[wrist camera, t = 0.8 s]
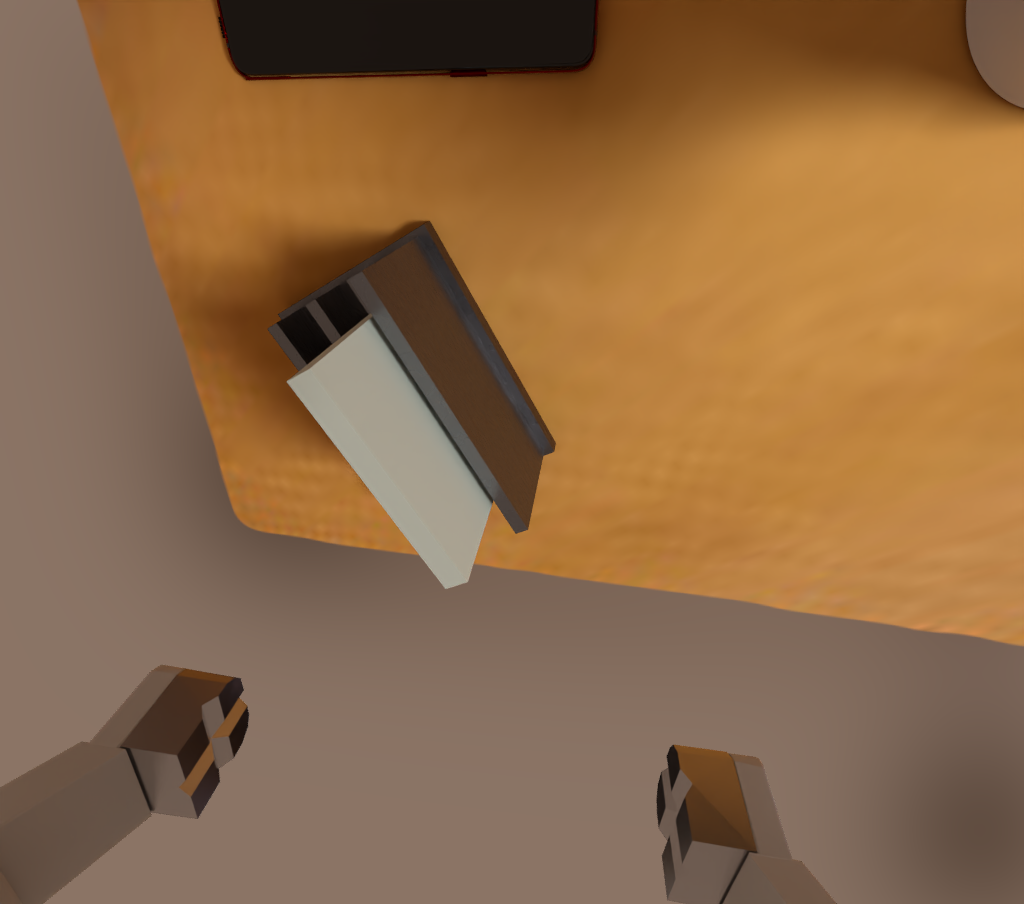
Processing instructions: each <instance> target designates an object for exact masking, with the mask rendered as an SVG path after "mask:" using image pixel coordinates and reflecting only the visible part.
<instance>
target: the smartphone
mask: <svg viewBox="0 0 1024 904" xmlns="http://www.w3.org/2000/svg"><path fill="white" fill-rule="evenodd" d="M217 3H218V8H219V12H220V17H218V18H219V23H220V27H222V28H221V30H222V34H223V35H222V36H223V38H226V43H227V47H228V51H229V54H230V57H231V60H232V62H233V64H234V66H235V68H236V69H237V71H238V72H239V73H240V74H241V75H242V76H244V77H245V78H246V80H285V79H320V78H361V77H403V76H445V75H450V77H478V76H487V74H530V73H571V72H579V71H582V70H584V69H586V68H587V67H588V66H589V65H590V64H591V63H592V61H593V59H594V56H595V52H596V45H597V29H598V11H599V0H217ZM220 20H221V21H220ZM587 63H588V64H587ZM586 64H587V65H586ZM584 65H585V66H584ZM582 66H584V67H582ZM578 67H582V68H580V69H576V70H554V71H514V72H487V71H486V70H516V69H556V68H578ZM436 71H451V73H434V74H393V75H352V76H310V77H291V76H277V77H250V76H248V75H254V76H257V75H258V76H269V75H311V74H353V73H394V72H436ZM246 74H248V75H246Z"/></svg>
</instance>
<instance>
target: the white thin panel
mask: <svg viewBox="0 0 1024 904" xmlns="http://www.w3.org/2000/svg"><path fill="white" fill-rule="evenodd" d="M287 383H288V384H289V386H290V387H291V388H292V389H293V391H294V392H295V393H296V395H297V396H298V397H299V399H300V400H301V401H302V402H303V404H304V405H305V406H306V408H307V409H308V410H309V412H310V413H311V414H312V416H313V417H314V418H315V419H316V421H317V422H318V423H319V425H320V426H321V427H322V429H323V430H324V431H325V432H326V434H327V435H328V436H329V438H330V439H331V440H332V442H333V443H334V444H335V445H336V447H337V448H338V449H339V451H340V452H341V453H342V455H343V456H344V457H345V459H346V460H347V461H348V462H349V464H350V465H351V466H352V468H353V469H354V470H355V472H356V473H357V474H358V475H359V477H360V478H361V479H362V481H363V482H364V483H365V485H366V486H367V487H368V488H369V490H370V491H371V492H372V494H373V495H374V496H375V498H376V499H377V500H378V502H379V503H380V504H381V505H382V507H383V508H384V509H385V511H386V512H387V513H388V515H389V516H390V517H391V518H392V520H393V521H394V522H395V524H396V525H397V526H398V528H399V529H400V530H401V531H402V533H403V534H404V535H405V537H406V538H407V539H408V541H409V542H410V543H411V545H412V546H413V547H414V548H415V550H416V551H417V552H418V554H419V555H420V556H421V558H422V559H423V560H424V561H425V563H426V564H427V565H428V567H429V568H430V569H431V570H432V572H433V573H434V574H435V576H436V577H437V578H438V580H439V581H440V582H441V583H442V585H443V586H444V588H446V589H447V588H450V587H453V586H457V585H460V584H463V583H466V582H468V579H469V576H470V572H471V570H472V567H473V563H474V560H475V557H476V554H477V551H478V547H479V544H480V541H481V538H482V535H483V531H484V528H485V525H486V522H487V519H488V516H489V512H490V509H491V506H492V503H493V498H492V497H491V495H490V494H489V492H488V491H487V489H486V488H485V486H484V485H483V483H482V482H481V480H480V479H479V477H478V476H477V474H476V473H475V471H474V469H473V468H472V466H471V465H470V463H469V462H468V460H467V459H466V457H465V456H464V454H463V453H462V451H461V450H460V448H459V447H458V445H457V444H456V442H455V441H454V439H453V438H452V436H451V434H450V433H449V431H448V430H447V428H446V427H445V425H444V424H443V422H442V421H441V419H440V418H439V416H438V415H437V413H436V412H435V410H434V409H433V407H432V406H431V404H430V403H429V401H428V399H427V398H426V396H425V395H424V393H423V392H422V390H421V389H420V387H419V386H418V384H417V383H416V381H415V380H414V378H413V377H412V375H411V374H410V372H409V371H408V369H407V368H406V366H405V364H404V363H403V361H402V360H401V358H400V357H399V355H398V354H397V352H396V351H395V349H394V348H393V346H392V345H391V343H390V342H389V340H388V339H387V337H386V336H385V334H384V333H383V331H382V329H381V328H380V326H379V325H378V323H377V322H376V320H375V319H374V317H373V316H372V314H371V313H370V314H369V315H368V316H367V317H365V318H364V319H363V320H362V321H360V322H359V323H358V324H357V325H356V326H354V327H353V328H352V329H351V330H349V331H348V332H347V333H346V334H344V335H343V336H342V337H341V338H340V339H338V340H337V341H336V342H335V343H333V344H332V345H331V346H330V347H328V348H327V349H326V350H325V351H324V352H322V353H321V354H320V355H319V356H317V357H316V358H315V359H314V360H312V361H311V362H310V363H309V364H307V365H306V366H305V367H304V368H303V369H301V370H300V371H299V372H298V373H296V374H295V375H294V376H293V377H291V378H290V379H289V380H288V381H287Z"/></svg>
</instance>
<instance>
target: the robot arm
mask: <svg viewBox="0 0 1024 904" xmlns="http://www.w3.org/2000/svg"><path fill="white" fill-rule="evenodd" d="M966 30H967V38H968V44H969V48H970V51H971V55H972V58H973V60H974V63H975V65H976V67H977V69H978V71H979V73H980V74H981V76H982V77H983V79H984V80H985V82H986V83H987V84H988V85H989V86H990V87H991V88H992V89H993V90H994V91H995V92H996V93H997V94H998V95H1000V96H1001V97H1002V98H1004V99H1005V100H1007V101H1008V102H1010V103H1012V104H1015V105H1017V106H1019V107H1022V108H1024V0H967V3H966ZM243 691H244V689H243V685H242V682H241V678H236V677H231V676H224V675H219V674H213V673H207V672H202V671H196V670H190V669H186V668H179V667H173V666H166V665H160V666H158V667H157V668H155V669H154V670H152V671H151V672H150V673H149V674H148V675H147V676H146V677H145V679H144V680H143V681H142V682H141V683H140V684H139V686H138V687H137V688H136V689H135V690H134V691H133V692H132V694H131V695H130V696H129V697H128V698H127V699H126V701H125V702H124V703H123V704H122V705H121V706H120V708H119V709H118V710H117V711H116V712H115V713H114V714H113V716H112V717H111V718H110V719H109V720H108V721H107V723H106V724H105V725H104V726H103V727H102V729H101V730H100V731H99V732H98V733H97V734H96V735H95V737H94V738H93V739H92V740H91V741H90V742H89V743H88V742H80V743H78V744H76V745H75V746H73V747H71V748H69V749H67V750H66V751H64V752H62V753H60V754H59V755H57V756H55V757H53V758H51V759H50V760H48V761H46V762H45V763H43V764H41V765H39V766H37V767H36V768H34V769H32V770H30V771H28V772H27V773H25V774H23V775H21V776H20V777H18V778H16V779H14V780H13V781H11V782H9V783H7V784H5V785H4V786H2V787H0V904H43V903H45V902H46V901H47V900H48V899H49V898H51V897H52V896H53V895H54V894H56V893H57V892H58V891H59V890H61V889H62V888H63V887H64V886H65V885H67V884H68V883H69V882H70V881H72V880H73V879H74V878H75V877H77V876H78V875H79V874H80V873H81V872H83V871H84V870H85V869H86V868H88V867H89V866H90V865H91V864H92V863H94V862H95V861H96V860H97V859H99V858H100V857H101V856H102V855H104V854H105V853H106V852H107V851H109V850H110V849H111V848H112V847H114V846H115V845H116V844H117V843H118V842H120V841H121V840H122V839H123V838H124V837H126V836H127V835H128V834H130V833H131V832H132V831H133V830H134V829H136V828H137V827H138V826H139V825H141V824H142V823H143V822H144V821H146V820H147V819H148V818H149V817H151V815H152V814H151V812H152V813H159V814H166V815H174V816H180V817H188V818H195V819H198V818H199V816H200V814H201V813H202V811H203V809H204V808H205V806H206V804H207V803H208V801H209V799H210V798H211V796H212V794H213V793H214V791H215V789H216V787H217V786H218V784H219V782H220V777H219V768H220V767H222V766H223V765H225V764H226V763H227V762H229V761H230V760H232V759H233V758H234V757H235V755H236V753H237V752H238V750H239V748H240V746H241V744H242V743H243V740H244V737H245V734H246V731H247V728H248V720H249V712H248V707H247V705H246V704H245V703H244V702H243V701H242V700H241V699H240V698H239V697H240V695H241V694H242V692H243ZM667 762H668V768H667V769H665V770H664V771H662V772H661V775H660V778H659V782H658V789H657V818H658V827H659V829H660V831H661V832H662V834H663V835H664V837H665V838H666V840H667V844H666V846H665V849H664V852H663V854H662V861H663V869H664V878H665V885H666V894H667V900H669V901H674V902H679V903H685V904H837V903H836V902H835V901H834V900H833V898H831V896H830V895H829V894H828V892H827V891H826V890H825V889H824V888H823V886H822V885H821V884H820V883H819V882H818V880H817V879H816V878H815V877H814V876H813V875H812V873H811V872H810V871H809V870H808V868H807V867H806V866H805V865H804V864H803V862H802V861H798V860H793V859H792V856H791V853H790V850H789V847H788V843H787V840H786V837H785V834H784V831H783V828H782V824H781V821H780V818H779V815H778V811H777V808H776V805H775V802H774V798H773V795H772V792H771V789H770V786H769V783H768V779H767V776H766V773H765V769H764V766H763V764H762V763H761V761H760V760H759V759H758V758H756V757H753V756H745V755H737V754H730V753H727V752H723V751H715V750H709V749H702V748H694V747H687V746H680V745H672V746H671V747H670V749H669V752H668V754H667Z"/></svg>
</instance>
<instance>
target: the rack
mask: <svg viewBox="0 0 1024 904" xmlns="http://www.w3.org/2000/svg"><path fill="white" fill-rule="evenodd" d="M370 313H371V314H372V316H373V317H374V319H375V320H376V322H377V323H378V325H379V326H380V328H381V329H382V331H383V333H384V334H385V336H386V337H387V339H388V340H389V342H390V343H391V345H392V346H393V348H394V349H395V351H396V352H397V354H398V355H399V357H400V358H401V360H402V361H403V363H404V364H405V366H406V368H407V369H408V371H409V372H410V374H411V375H412V377H413V378H414V380H415V381H416V383H417V384H418V386H419V387H420V389H421V390H422V392H423V393H424V395H425V396H426V398H427V399H428V401H429V403H430V404H431V406H432V407H433V409H434V410H435V412H436V413H437V415H438V416H439V418H440V419H441V421H442V422H443V424H444V425H445V427H446V428H447V430H448V431H449V433H450V434H451V436H452V438H453V439H454V441H455V442H456V444H457V445H458V447H459V448H460V450H461V451H462V453H463V454H464V456H465V457H466V459H467V460H468V462H469V463H470V465H471V466H472V468H473V469H474V471H475V473H476V474H477V476H478V477H479V479H480V480H481V482H482V483H483V485H484V486H485V488H486V489H487V491H488V492H489V494H490V495H491V497H492V498H493V500H494V501H495V503H496V504H497V506H498V508H499V509H500V511H501V512H502V514H503V515H504V517H505V518H506V520H507V521H508V523H509V524H510V526H511V527H512V529H513V530H514V532H515V533H519V532H522V531H525V530H528V527H529V522H530V517H531V513H532V508H533V503H534V498H535V493H536V489H537V484H538V479H539V474H540V469H541V465H542V460H543V456H544V455H547V454H549V453H552V452H554V450H555V445H556V443H555V441H554V439H553V437H552V436H551V434H550V432H549V430H548V428H547V427H546V425H545V423H544V421H543V420H542V418H541V416H540V414H539V413H538V411H537V409H536V407H535V406H534V404H533V402H532V400H531V399H530V397H529V395H528V393H527V391H526V390H525V388H524V386H523V384H522V383H521V381H520V379H519V377H518V376H517V374H516V372H515V370H514V369H513V367H512V365H511V363H510V361H509V360H508V358H507V356H506V354H505V353H504V351H503V349H502V347H501V346H500V344H499V342H498V340H497V339H496V337H495V335H494V333H493V332H492V330H491V328H490V326H489V324H488V323H487V321H486V319H485V317H484V316H483V314H482V312H481V310H480V309H479V307H478V305H477V303H476V302H475V300H474V298H473V296H472V295H471V293H470V291H469V289H468V287H467V286H466V284H465V282H464V280H463V279H462V277H461V275H460V273H459V272H458V270H457V268H456V266H455V265H454V263H453V261H452V259H451V258H450V256H449V254H448V252H447V250H446V249H445V247H444V245H443V243H442V242H441V240H440V238H439V236H438V235H437V233H436V231H435V229H434V228H433V226H432V224H431V222H430V221H429V222H427V223H425V224H423V225H422V226H420V227H419V228H417V229H415V230H414V231H412V232H410V233H409V234H407V235H406V236H404V237H402V238H401V239H399V240H398V241H396V242H394V243H393V244H391V245H389V246H388V247H386V248H385V249H383V250H381V251H380V252H378V253H376V254H375V255H373V256H372V257H370V258H368V259H367V260H365V261H364V262H362V263H360V264H359V265H357V266H355V267H354V268H352V269H351V270H349V271H347V272H346V273H344V274H343V275H341V276H339V277H338V278H336V279H334V280H333V281H331V282H330V283H328V284H326V285H325V286H323V287H321V288H320V289H318V290H317V291H315V292H313V293H312V294H310V295H309V296H307V297H305V298H304V299H302V300H300V301H299V302H297V303H296V304H294V305H292V306H291V307H289V308H288V309H286V310H284V311H283V312H281V313H279V314H278V315H279V317H280V318H281V319H282V320H281V321H279V322H277V323H276V324H274V325H273V326H271V327H269V328H268V331H269V332H270V333H271V335H272V336H273V337H274V339H275V340H276V341H277V343H278V344H279V345H280V347H281V348H282V349H283V351H284V352H285V353H286V355H287V356H288V357H289V359H290V360H291V361H292V363H293V364H294V365H295V367H296V368H297V369H298V371H300V370H301V369H303V368H304V367H305V366H306V365H307V364H309V363H310V362H311V361H312V360H314V359H315V358H316V357H317V356H319V355H320V354H321V353H322V352H324V351H325V350H326V349H327V348H328V347H330V346H331V345H332V344H333V343H335V342H336V341H337V340H338V339H340V338H341V337H342V336H343V335H344V334H346V333H347V332H348V331H349V330H351V329H352V328H353V327H354V326H356V325H357V324H358V323H359V322H360V321H362V320H363V319H364V318H365V317H367V316H368V315H369V314H370Z"/></svg>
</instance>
